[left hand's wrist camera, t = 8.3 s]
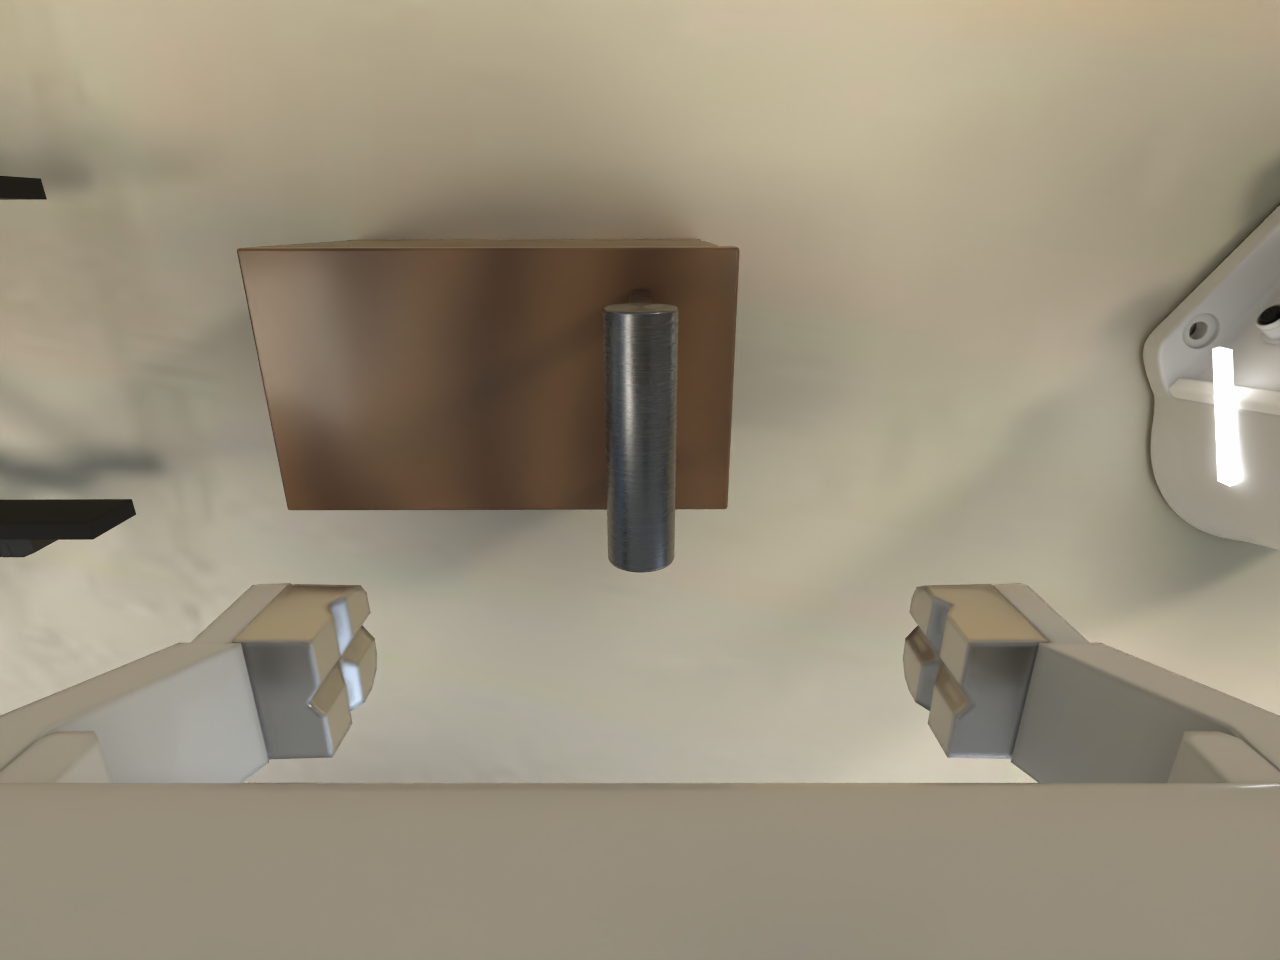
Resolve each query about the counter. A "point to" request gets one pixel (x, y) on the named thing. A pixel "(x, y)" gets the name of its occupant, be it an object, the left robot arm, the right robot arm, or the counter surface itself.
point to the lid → (502, 380)
